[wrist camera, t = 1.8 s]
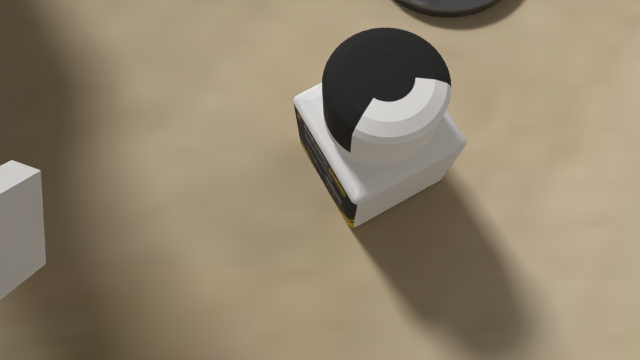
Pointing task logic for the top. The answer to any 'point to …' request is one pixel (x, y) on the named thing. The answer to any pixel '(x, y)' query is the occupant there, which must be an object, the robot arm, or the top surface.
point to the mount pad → (448, 6)
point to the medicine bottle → (379, 122)
